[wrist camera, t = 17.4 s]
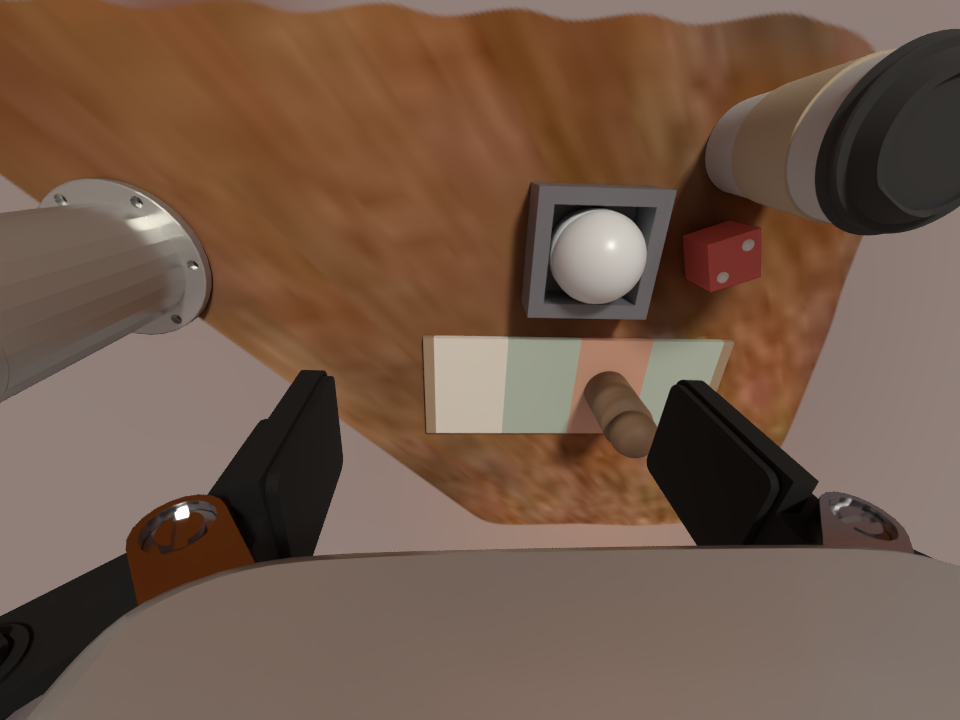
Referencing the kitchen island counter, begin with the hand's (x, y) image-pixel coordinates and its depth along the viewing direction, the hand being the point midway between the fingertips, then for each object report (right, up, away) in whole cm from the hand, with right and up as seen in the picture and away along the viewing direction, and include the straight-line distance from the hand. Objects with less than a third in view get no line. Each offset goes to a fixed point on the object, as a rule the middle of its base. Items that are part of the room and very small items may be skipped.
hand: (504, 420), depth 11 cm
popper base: (+8, +11, +23) cm, 27 cm away
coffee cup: (+20, +19, +20) cm, 34 cm away
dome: (+8, +11, +23) cm, 27 cm away
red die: (+19, +11, +24) cm, 32 cm away
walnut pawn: (+12, -1, +29) cm, 32 cm away
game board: (+9, -1, +30) cm, 31 cm away
